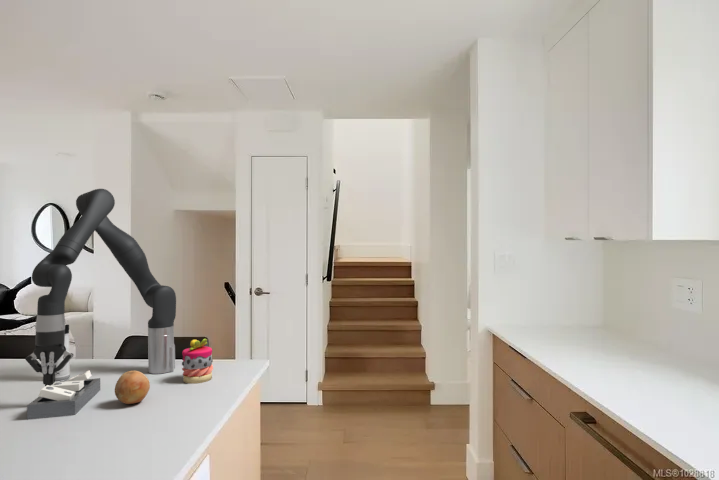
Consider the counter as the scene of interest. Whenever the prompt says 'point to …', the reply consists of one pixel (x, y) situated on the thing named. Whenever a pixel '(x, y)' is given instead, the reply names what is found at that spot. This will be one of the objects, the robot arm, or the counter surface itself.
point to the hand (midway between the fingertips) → (48, 385)
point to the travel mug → (65, 371)
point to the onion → (132, 387)
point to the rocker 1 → (56, 393)
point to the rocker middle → (70, 385)
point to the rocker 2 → (80, 377)
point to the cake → (197, 362)
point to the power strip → (63, 402)
